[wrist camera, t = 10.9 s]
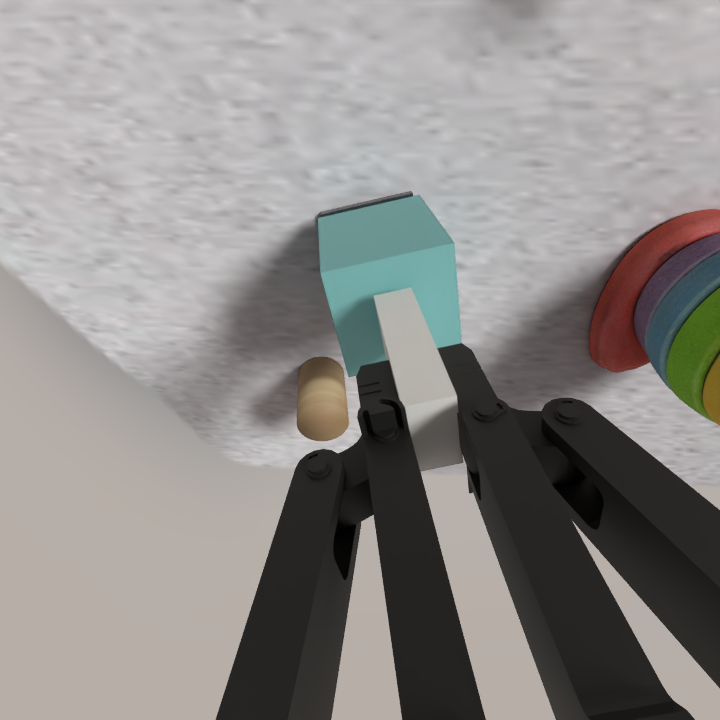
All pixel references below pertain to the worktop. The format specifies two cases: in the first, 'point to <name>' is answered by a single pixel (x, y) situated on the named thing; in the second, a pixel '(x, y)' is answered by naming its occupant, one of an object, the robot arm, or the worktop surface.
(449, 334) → the teal rectangular prism
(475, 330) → the worktop surface
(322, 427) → the oak stub
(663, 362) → the stacking bear
